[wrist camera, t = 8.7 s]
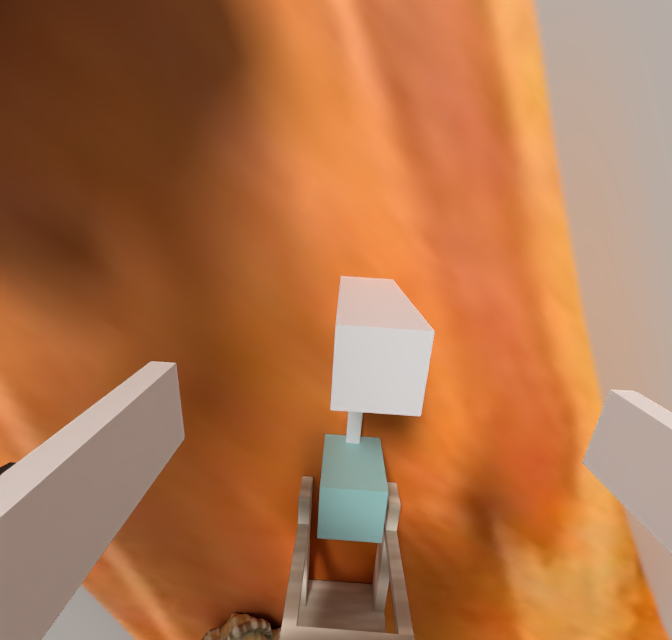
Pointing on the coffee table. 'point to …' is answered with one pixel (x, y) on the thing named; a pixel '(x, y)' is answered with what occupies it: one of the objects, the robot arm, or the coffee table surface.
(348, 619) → the shelf
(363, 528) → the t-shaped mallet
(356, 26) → the coffee table surface
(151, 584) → the coffee table surface
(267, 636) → the seashell
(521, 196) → the coffee table surface
